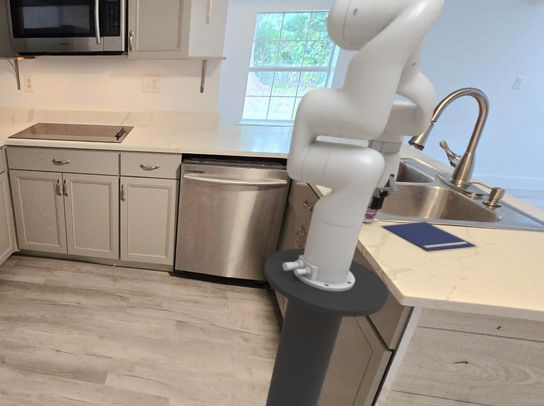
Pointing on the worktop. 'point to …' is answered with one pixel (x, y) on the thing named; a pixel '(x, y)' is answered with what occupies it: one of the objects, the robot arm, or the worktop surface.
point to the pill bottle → (370, 213)
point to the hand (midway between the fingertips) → (367, 204)
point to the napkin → (427, 236)
